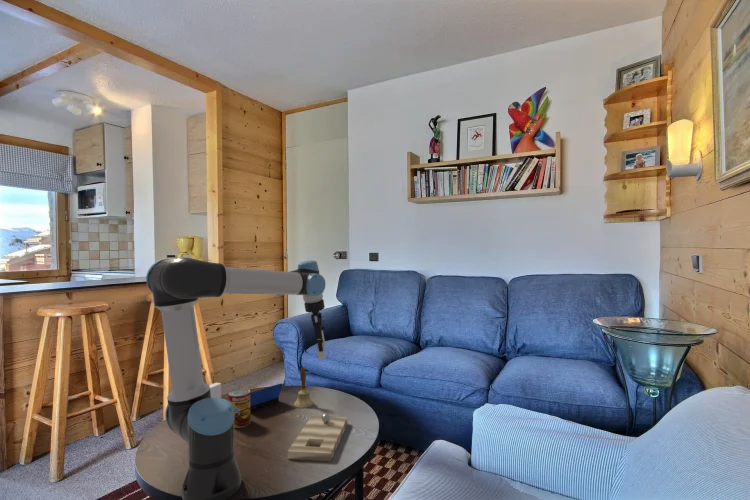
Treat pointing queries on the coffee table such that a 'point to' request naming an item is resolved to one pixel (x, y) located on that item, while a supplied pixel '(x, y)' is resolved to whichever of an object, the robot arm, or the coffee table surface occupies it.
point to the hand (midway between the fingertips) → (322, 352)
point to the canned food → (240, 407)
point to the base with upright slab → (215, 390)
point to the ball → (325, 418)
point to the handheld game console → (265, 396)
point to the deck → (318, 439)
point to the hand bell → (303, 393)
